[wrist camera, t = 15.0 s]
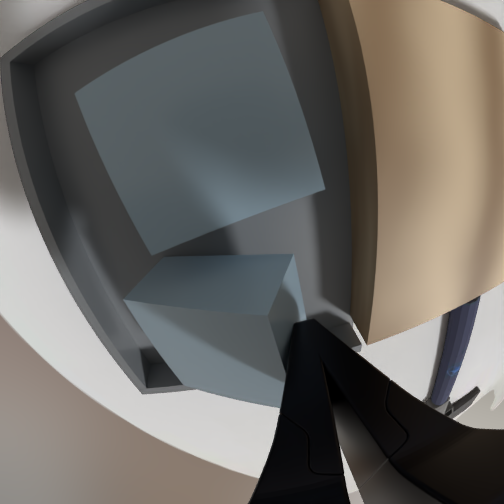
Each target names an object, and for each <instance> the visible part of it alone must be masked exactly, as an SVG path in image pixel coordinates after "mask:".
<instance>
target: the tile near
mask: <svg viewBox="0 0 504 504" xmlns="http://www.w3.org/2000/svg"><path fill="white" fill-rule="evenodd" d="M75 96H76V99H77V101H78V104H79V107H80V109H81V112H82V114H83V117H84V119H85V122H86V124H87V127H88V129H89V132H90V134H91V136H92V139H93V141H94V143H95V146H96V148H97V150H98V152H99V155H100V157H101V159H102V161H103V163H104V166H105V168H106V170H107V172H108V174H109V176H110V178H111V180H112V182H113V185H114V187H115V189H116V191H117V193H118V195H119V197H120V199H121V201H122V202H123V204H124V206H125V208H126V210H127V212H128V214H129V216H130V218H131V220H132V221H133V223H134V225H135V227H136V229H137V231H138V232H139V234H140V236H141V238H142V240H143V241H144V243H145V245H146V247H147V248H148V250H149V252H150V254H151V255H155V254H157V253H159V252H162V251H164V250H167V249H169V248H172V247H174V246H177V245H179V244H181V243H184V242H186V241H189V240H191V239H194V238H196V237H199V236H201V235H204V234H206V233H209V232H211V231H214V230H217V229H219V228H222V227H224V226H227V225H229V224H232V223H235V222H237V221H240V220H242V219H245V218H248V217H250V216H253V215H256V214H258V213H261V212H264V211H266V210H269V209H272V208H275V207H277V206H280V205H283V204H286V203H288V202H291V201H294V200H297V199H299V198H302V197H305V196H308V195H311V194H313V193H316V192H319V191H322V190H325V186H324V182H323V179H322V175H321V171H320V168H319V164H318V160H317V157H316V153H315V150H314V147H313V143H312V140H311V137H310V133H309V130H308V127H307V124H306V121H305V118H304V115H303V112H302V109H301V106H300V103H299V100H298V97H297V94H296V91H295V88H294V86H293V83H292V80H291V78H290V75H289V72H288V70H287V67H286V64H285V62H284V59H283V57H282V54H281V52H280V49H279V47H278V44H277V42H276V40H275V37H274V35H273V33H272V30H271V28H270V26H269V24H268V21H267V19H266V17H265V15H264V13H263V11H261V12H256V13H252V14H248V15H244V16H240V17H236V18H232V19H229V20H225V21H222V22H219V23H215V24H212V25H209V26H206V27H203V28H200V29H197V30H195V31H192V32H189V33H187V34H184V35H181V36H179V37H176V38H174V39H172V40H169V41H167V42H165V43H162V44H160V45H158V46H156V47H153V48H151V49H149V50H147V51H145V52H143V53H141V54H139V55H137V56H135V57H133V58H131V59H129V60H127V61H126V62H124V63H122V64H120V65H118V66H117V67H115V68H113V69H111V70H110V71H108V72H106V73H105V74H103V75H101V76H100V77H98V78H97V79H95V80H93V81H92V82H90V83H89V84H87V85H86V86H84V87H83V88H81V89H80V90H78V91H77V92H76V93H75Z"/></svg>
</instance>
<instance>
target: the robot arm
mask: <svg viewBox="0 0 504 504" xmlns="http://www.w3.org/2000/svg"><path fill="white" fill-rule="evenodd" d="M279 413H280V415H279V417H278V422H277V427H276V431H275V435H274V440H273V443H272V446H271V449H270V452H269V455H268V458H267V461H266V463H265V466H264V468H263V471H262V473H261V476H260V478H259V481H258V483H257V485H256V488H255V490H254V492H253V494H252V497H251V499H250V501H249V503H248V504H350V500H349V496H348V492H347V487H346V482H345V476H344V469H343V463H342V457H341V451H340V446H341V449H342V451H343V454H344V456H345V458H346V461H347V463H348V465H349V468H350V470H351V473H352V475H353V477H354V480H355V482H356V485H357V487H358V489H359V492H360V494H361V497H362V499H363V502H364V504H504V429H500V430H499V429H479V428H472V427H469V426H465V425H462V424H460V423H459V422H456V421H455V420H453V419H451V418H450V417H448V416H446V415H444V414H442V413H441V412H439V411H437V410H435V409H434V408H432V407H430V406H428V405H427V404H425V403H423V402H422V401H420V400H419V399H417V398H415V397H414V396H412V395H411V394H410V393H408V392H407V391H405V390H404V389H403V388H401V387H400V386H399V385H397V384H396V383H395V382H394V381H392V380H390V378H388V377H387V376H386V375H385V374H383V373H382V372H381V371H379V370H378V369H377V368H376V367H374V366H373V365H372V364H371V363H369V362H368V361H367V360H366V359H364V358H363V357H362V356H361V355H359V354H358V353H357V352H356V351H354V350H353V349H352V348H350V347H349V346H348V345H347V344H345V343H344V342H343V341H342V340H340V339H339V338H338V337H337V336H335V335H334V334H333V333H332V332H330V331H329V330H328V329H327V328H325V327H324V326H323V325H322V324H321V323H319V322H318V321H317V320H316V319H314V318H311V319H307V320H303V321H299V322H295V323H294V325H293V331H292V338H291V345H290V352H289V359H288V365H287V372H286V378H285V384H284V390H283V395H282V401H281V407H280V412H279ZM339 444H340V445H339Z"/></svg>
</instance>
